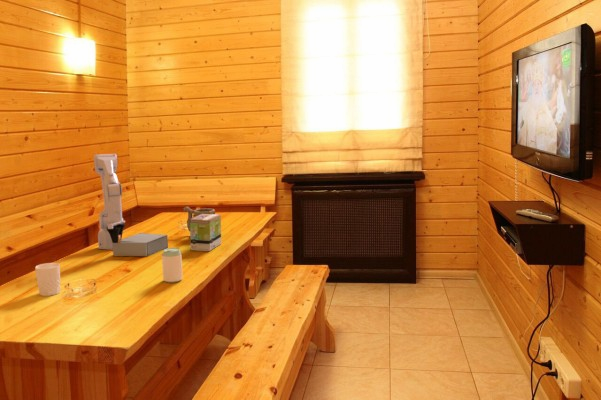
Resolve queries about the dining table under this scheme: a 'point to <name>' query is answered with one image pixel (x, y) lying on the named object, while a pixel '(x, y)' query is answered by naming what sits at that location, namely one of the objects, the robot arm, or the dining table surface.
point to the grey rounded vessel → (197, 213)
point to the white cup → (48, 278)
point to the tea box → (205, 232)
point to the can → (172, 265)
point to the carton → (150, 241)
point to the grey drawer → (129, 248)
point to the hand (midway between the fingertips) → (116, 241)
